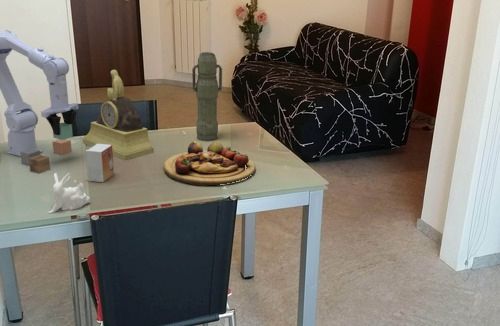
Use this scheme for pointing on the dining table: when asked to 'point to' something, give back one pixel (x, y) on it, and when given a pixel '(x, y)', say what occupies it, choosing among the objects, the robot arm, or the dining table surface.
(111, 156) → the small box
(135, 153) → the decorative clock
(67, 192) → the rabbit figurine
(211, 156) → the wooden plate with food
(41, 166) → the walnut block
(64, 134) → the green block
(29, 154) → the charcoal block
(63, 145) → the terracotta block
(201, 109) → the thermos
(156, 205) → the dining table surface
